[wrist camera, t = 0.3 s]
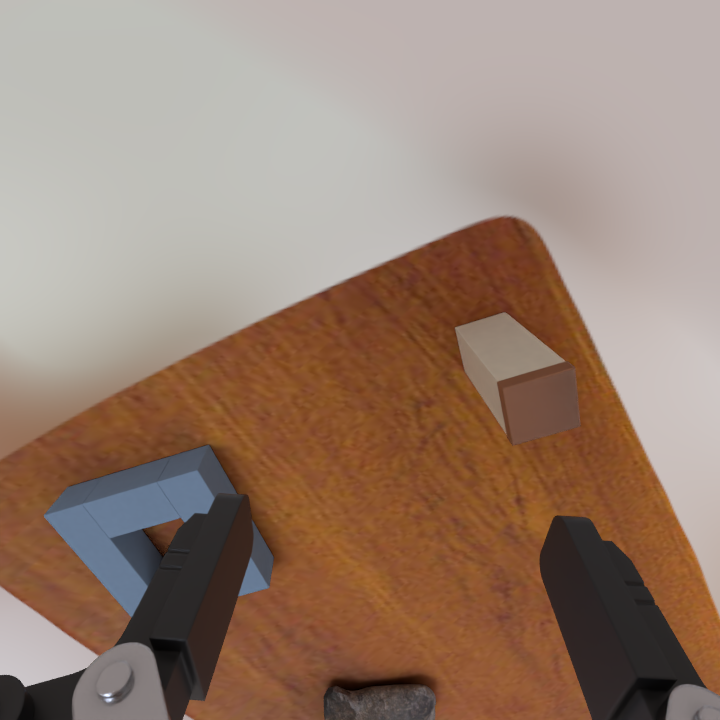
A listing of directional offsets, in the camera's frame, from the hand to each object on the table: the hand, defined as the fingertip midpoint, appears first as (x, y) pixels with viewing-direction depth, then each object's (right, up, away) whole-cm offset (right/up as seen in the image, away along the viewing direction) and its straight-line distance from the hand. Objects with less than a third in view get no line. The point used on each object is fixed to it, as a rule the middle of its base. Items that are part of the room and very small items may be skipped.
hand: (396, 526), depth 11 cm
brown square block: (+8, +6, +18) cm, 21 cm away
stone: (+1, -34, +36) cm, 50 cm away
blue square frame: (-16, -9, +24) cm, 30 cm away
